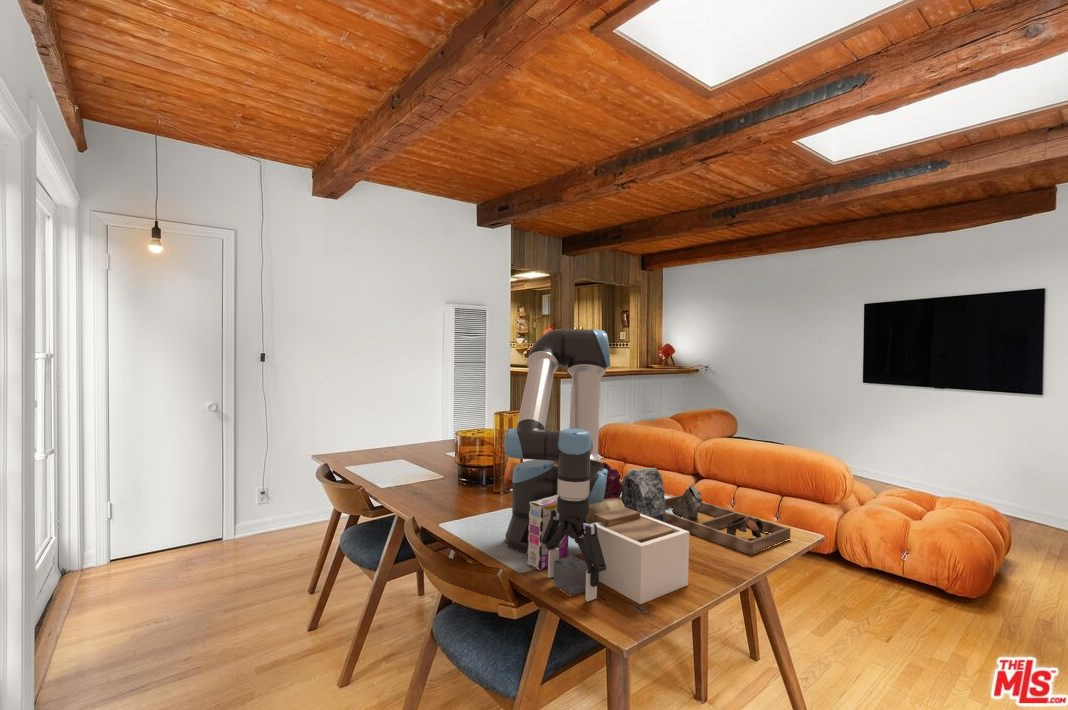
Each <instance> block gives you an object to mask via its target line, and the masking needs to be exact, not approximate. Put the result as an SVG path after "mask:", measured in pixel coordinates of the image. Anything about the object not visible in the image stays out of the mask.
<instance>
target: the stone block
mask: <svg viewBox="0 0 1068 710" xmlns="http://www.w3.org/2000/svg"><path fill="white" fill-rule="evenodd" d="M622 480H623V485H622V490H621V491H622V492H621V496H622V503H623V504H624V507H626V508H629V509H632V510H634V511H637V512H640V514H643V515H646V516H648V517H651V518H654V519H657V520H659V521H662V522H664V521H665V518H666V514H665V512H666V510H665V509H666V501H665V499H666V497H665V493H666V491H665V486H664V481H663V477H662V475H661V472H660V471H659V470H658V469H657V468H656V467H645V468H643V467H642V468H631V469H629V470H628V471H627V473H625V474H624V476H623V478H622Z"/></svg>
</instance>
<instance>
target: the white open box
mask: <svg viewBox="0 0 1068 710" xmlns="http://www.w3.org/2000/svg"><path fill="white" fill-rule="evenodd" d="M640 517H642V518H645V519H647V520H650V521H653V522H655V523H658V524H661V525H663V526H666V527H669V528H671V529H674V533H672V534H669V535H666V536H663V537H659V538H656V539H653V540H649V541H646V542H643V543H640V542H638V541H635V540H633V539H631V538H628V537H626V536H624V535H621V534H619V533H617V532H615V531H612V530H610V529H608V528H605V527H604V526H607V523H606V522H604V521H600V522H596V523H592V524H596V526H597V536H598V539H599V543H600V546H601V550H602V553H603V557H604V561H605V564H606V570H604V571H601V572H599V583H601V584H604V585H605V586H607V587H609V588H610V589H612V590H613V591H616V592H617V593H619V594H621V595H623V596H624V597H626V598H628V599H630V600H631V601H633V602H635V603H637V604H639V605H642V604H645V603H648V602H651V601H652V600H655V599H657V598H660V597H662V596H664V595H667V594H669V593H672V592H675V591H676V590H679V589H681V588H685V587H686V586H689V562H690V561H689V559H690V558H689V556H690V555H689V554H690V533H689V531H686V530H684V529H681V528H678V527H676V526H673V525H670V524H667V523H665V522H662V521H659V520H657V519H654V518H651V517H648V516H646V515H643V514H640ZM590 525H591V524H590ZM592 566H593V564H592Z"/></svg>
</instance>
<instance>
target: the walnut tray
mask: <svg viewBox="0 0 1068 710" xmlns="http://www.w3.org/2000/svg"><path fill="white" fill-rule="evenodd" d="M682 496H683V494H682V495H680V494H679V495H675V496H671V497H667V498H666V497H665V501H666V509H667V510H669V509H668V508H671V509H673V508H672V507H673V506H674V505H676V503H677V501H678V500H679V499H681V498H682ZM699 511H700V512H699V513H701V512H703V513H702V514H705V515H708V516H711V517H714V516H715V517H714V518H709V519H707V520H704V521H700V522H697V521H693V520H692V519H691V520H688V519H685V518H682V517H680V516H678V515H677V514H673V513H670V512H666V511H665V514H666V518H665V521H664V522H665V523H667V524H670V525H673V526H676V527H678V528H681V529H684V530H686V531H689V534H690V535H694V536H697V537H699V538H702V539H706V540H708V541H710V542H713V543H715V542H716V544H718V543H719V545H721V544H722V546H724V545H725V546H724V547H726V546H727V548H729V547H730V549H732V548H733V549H732V550H734V549H736V550H735V551H737V550H739V551H738V552H740V551H741V553H742V552H744V553H743V554H745V553H747V554H746V555H748V554H750V555H749V556H751V555H752V554H754V553H756V552H759V551H761V550H763V549H766V548H768V547H770V546H773V545H775V544H778V543H780V542H783V541H785V540H787V539H790V540H791V527H788V526H784V525H780V524H777V523H774V522H770V521H767V520H764V519H761V518H759V519H760V520H761V521H762V523H763V530H762V531H764V532H768V533H771V534H764V535H763V536H761V537H760V538H757V537H756V538H757V539H756V538H755V539H752V540H748V539H746V538H743V537H740V536H735V535H731V534H728V533H727V532H726V531H722V529H725V528H726V527H725V526H726V524H728V523H730V525H732V522H731V521H733V520H735V519H737V518H739V517H742V516H748V518H749V520H752V519H755V518H756V517H754V516H751V515H747V514H744V513H741V512H738V511H734V510H731V509H728V508H724V507H721V506H717V505H715V504H711V503H708V502H705V501H702V504H701V506H700V509H699ZM756 525H757V524H756ZM746 526H747V527H746V528H748V527H749V526H748V525H746ZM721 528H722V529H721ZM759 553H760V552H759ZM754 555H755V554H754ZM752 556H753V555H752Z"/></svg>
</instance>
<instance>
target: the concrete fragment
mask: <svg viewBox="0 0 1068 710" xmlns="http://www.w3.org/2000/svg"><path fill="white" fill-rule="evenodd" d="M702 500H703V498H702V496H701V491H699V489H698V488H697V487H695V486H694V485H689V486H688V488H686V490H685V491H684V493H683V494H682V498H681V499H679V500H678V501H677V503H676V505H674V506H673V508H671V509H672V510H673V511H674V512H675V513H677V514H678V515H680V516H681V517H683V518H685V519H688V520H690V519H691V520H693V519H697V518H698V516H699V515H698V514H699V512H698V511H699V509H700V506H701V504H702V502H703V501H702ZM672 510H671V511H672ZM673 511H672V512H673ZM674 512H673V513H674ZM675 513H674V514H675ZM677 514H676V515H677ZM678 515H677V516H678ZM680 516H679V517H680Z"/></svg>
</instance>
